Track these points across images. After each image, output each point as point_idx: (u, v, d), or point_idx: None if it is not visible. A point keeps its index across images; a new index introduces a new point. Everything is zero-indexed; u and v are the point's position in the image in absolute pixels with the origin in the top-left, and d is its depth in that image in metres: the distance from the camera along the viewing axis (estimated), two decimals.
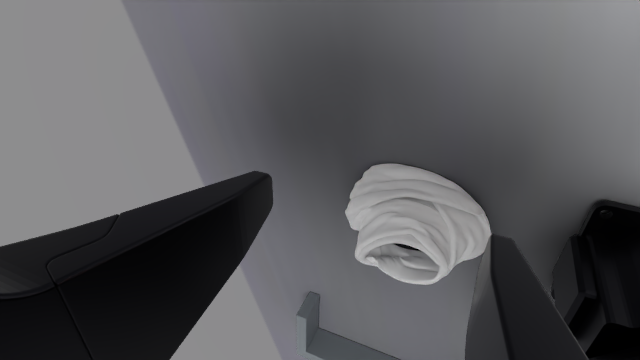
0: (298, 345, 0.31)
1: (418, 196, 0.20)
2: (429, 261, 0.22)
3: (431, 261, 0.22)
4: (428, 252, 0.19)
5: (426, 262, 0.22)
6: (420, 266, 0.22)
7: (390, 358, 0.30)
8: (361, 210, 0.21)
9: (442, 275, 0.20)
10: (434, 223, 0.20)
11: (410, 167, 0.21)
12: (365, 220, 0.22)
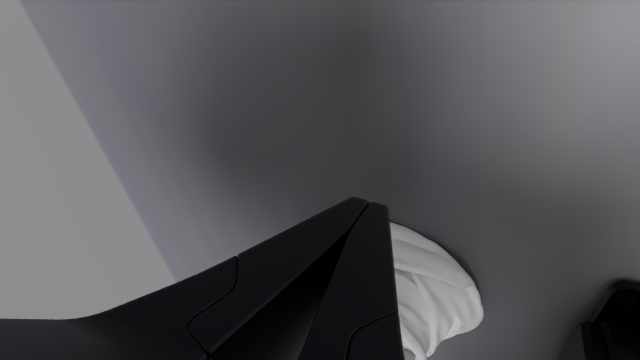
0: None
1: None
2: None
3: None
4: None
5: None
6: None
7: None
8: None
9: None
10: (408, 300, 0.15)
11: None
12: None
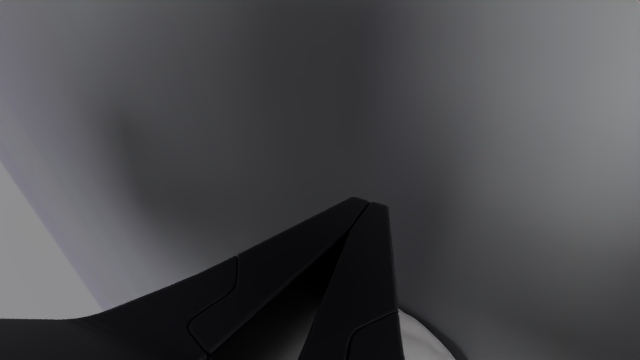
0: None
1: None
2: None
3: None
4: None
5: None
6: None
7: None
8: None
9: None
10: None
11: None
12: None
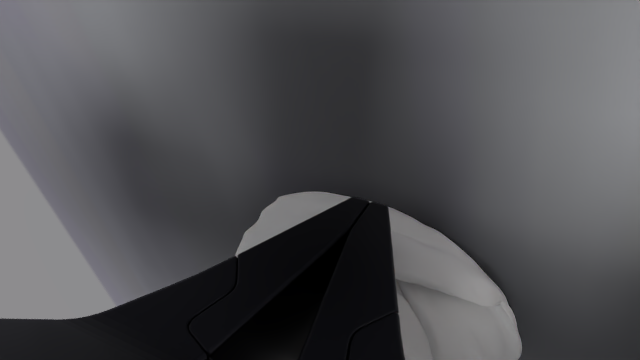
0: None
1: None
2: None
3: None
4: None
5: None
6: None
7: None
8: None
9: None
10: None
11: None
12: None
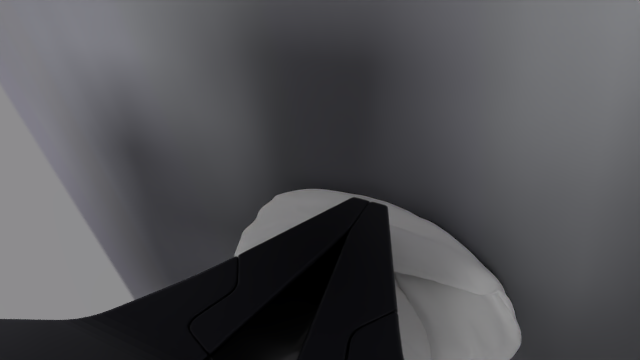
0: None
1: None
2: None
3: None
4: None
5: None
6: None
7: None
8: None
9: None
10: None
11: (345, 195, 0.11)
12: None
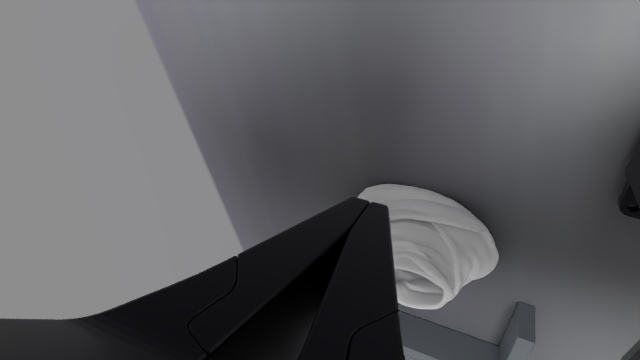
0: None
1: (414, 217, 0.19)
2: (435, 284, 0.21)
3: None
4: (428, 276, 0.18)
5: (432, 285, 0.21)
6: (426, 289, 0.21)
7: (402, 314, 0.25)
8: None
9: (447, 299, 0.19)
10: (433, 244, 0.19)
11: (405, 186, 0.20)
12: None
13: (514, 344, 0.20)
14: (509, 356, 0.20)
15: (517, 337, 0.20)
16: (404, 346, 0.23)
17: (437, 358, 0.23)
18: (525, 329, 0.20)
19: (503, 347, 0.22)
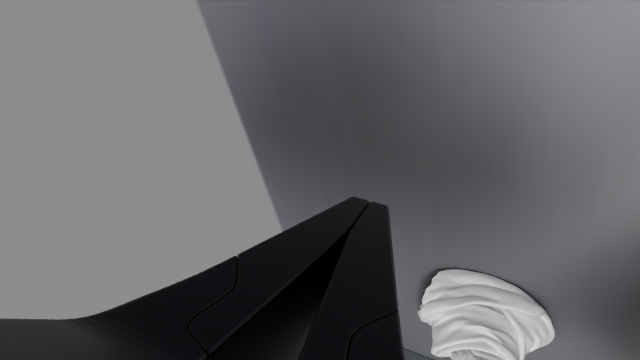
0: None
1: (486, 303, 0.23)
2: None
3: None
4: (501, 356, 0.22)
5: None
6: (490, 357, 0.25)
7: None
8: (434, 314, 0.25)
9: None
10: (502, 327, 0.23)
11: (473, 273, 0.24)
12: (438, 322, 0.25)
13: None
14: None
15: None
16: None
17: None
18: None
19: None
